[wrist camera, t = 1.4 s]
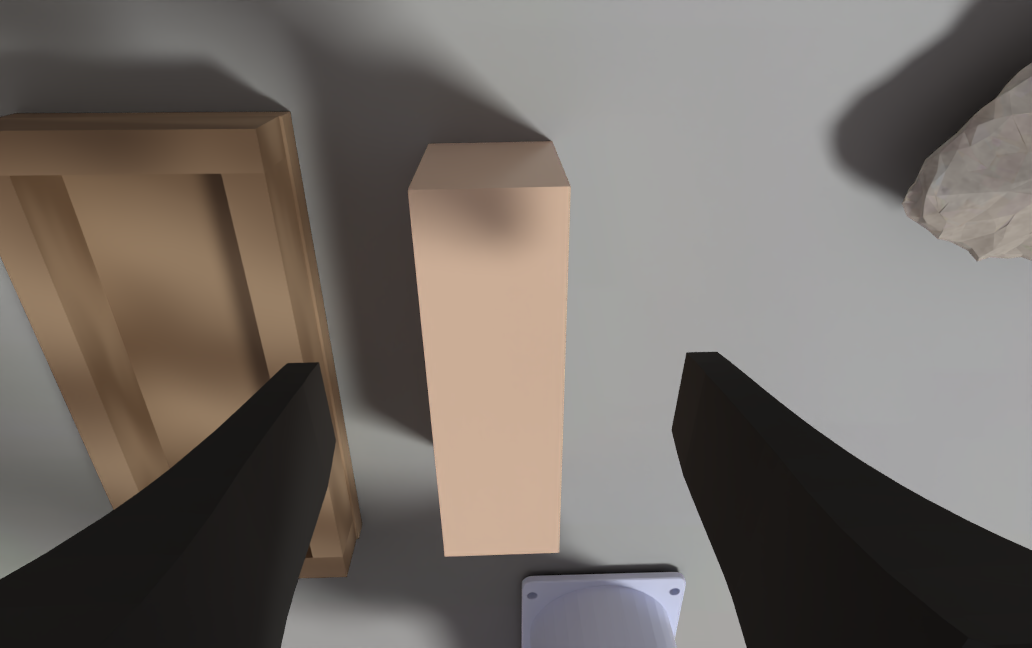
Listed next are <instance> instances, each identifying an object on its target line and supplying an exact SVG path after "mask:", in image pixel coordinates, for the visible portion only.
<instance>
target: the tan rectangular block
mask: <svg viewBox="0 0 1032 648" xmlns="http://www.w3.org/2000/svg"><path fill="white" fill-rule="evenodd" d="M570 189H571V186H570V184H569V181H568V179H567V176H566V174H565V171H564V169H563V167H562V164H561V162H560V159H559V157H558V154H557V152H556V149H555V147H554V144H553V142H552V141H537V142H487V143H438V144H428V146H427V148H426V151H425V153H424V155H423V157H422V159H421V162H420V164H419V166H418V168H417V170H416V173H415V175H414V177H413V179H412V181H411V184H410V186H409V188H408V198H409V208H410V218H411V228H412V238H413V248H414V258H415V267H416V277H417V287H418V297H419V307H420V317H421V327H422V336H423V346H424V356H425V366H426V376H427V386H428V396H429V405H430V415H431V425H432V435H433V445H434V455H435V465H436V474H437V484H438V494H439V504H440V514H441V524H442V534H443V543H444V553H445V557H448V556H477V555H505V554H534V553H559V540H560V508H561V476H562V444H563V412H564V380H565V349H566V317H567V285H568V253H569V221H570Z"/></svg>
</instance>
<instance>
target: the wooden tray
mask: <svg viewBox="0 0 1032 648" xmlns="http://www.w3.org/2000/svg"><path fill="white" fill-rule="evenodd" d="M0 256H1V259H2V261H3V263H4V265H5V268H6V270H7V272H8V274H9V277H10V279H11V281H12V283H13V286H14V288H15V290H16V292H17V295H18V297H19V299H20V301H21V303H22V306H23V308H24V310H25V312H26V315H27V317H28V319H29V321H30V324H31V326H32V328H33V330H34V333H35V335H36V337H37V339H38V342H39V344H40V346H41V348H42V351H43V353H44V355H45V357H46V359H47V362H48V364H49V366H50V368H51V371H52V373H53V375H54V377H55V380H56V382H57V384H58V386H59V389H60V391H61V393H62V395H63V398H64V400H65V402H66V404H67V406H68V409H69V411H70V413H71V415H72V418H73V420H74V422H75V424H76V427H77V429H78V431H79V433H80V436H81V438H82V440H83V442H84V445H85V447H86V449H87V451H88V454H89V456H90V458H91V460H92V462H93V465H94V467H95V469H96V471H97V474H98V476H99V478H100V480H101V483H102V485H103V487H104V489H105V492H106V494H107V496H108V498H109V501H110V503H111V505H112V507H113V509H116V508H117V507H119V506H120V505H122V504H123V503H124V502H126V501H127V500H129V499H130V498H131V497H133V496H134V495H136V494H137V493H138V492H140V491H141V490H143V489H144V488H145V487H147V486H148V485H149V484H151V483H152V482H153V481H155V480H156V479H157V478H159V477H160V476H161V475H162V474H164V473H165V472H166V471H167V470H169V469H170V468H171V467H172V466H174V465H175V464H176V463H177V462H178V461H180V460H181V459H182V458H183V457H184V456H186V455H187V454H188V453H189V452H190V451H191V450H193V449H194V448H195V447H196V446H197V445H199V444H200V443H201V442H202V441H203V440H205V439H206V438H207V437H208V436H209V435H210V434H212V433H213V432H214V431H215V430H216V429H217V428H218V427H219V426H221V425H222V424H223V423H224V422H225V421H226V420H227V419H228V418H229V417H230V416H231V415H232V414H234V413H235V412H236V411H237V410H238V409H239V408H240V407H241V406H242V405H243V404H244V403H245V402H247V401H248V400H249V399H250V398H251V397H252V396H253V395H254V394H255V393H256V392H257V391H258V390H259V389H260V388H261V387H262V386H263V385H264V384H265V383H266V382H267V381H268V380H269V379H271V378H272V377H273V376H274V375H275V374H276V373H277V372H278V371H279V370H280V369H281V368H282V367H283V366H285V365H286V364H287V363H307V362H319V364H320V369H321V373H322V378H323V382H324V387H325V392H326V396H327V401H328V405H329V410H330V415H331V419H332V424H333V428H334V433H335V438H336V444H335V450H334V456H333V462H332V468H331V473H330V478H329V483H328V488H327V491H326V495H325V498H324V501H323V504H322V507H321V511H320V514H319V517H318V520H317V523H316V526H315V529H314V532H313V536H312V539H311V542H310V545H309V548H308V551H307V554H306V557H305V560H304V563H303V566H302V570H301V573H300V576H299V578H325V577H347V574H348V570H349V566H350V562H351V558H352V554H353V550H354V547H355V543H356V539H359V536H360V532H361V528H362V520H361V515H360V509H359V503H358V497H357V492H356V486H355V480H354V475H353V469H352V463H351V457H350V452H349V446H348V440H347V434H346V429H345V423H344V417H343V412H342V406H341V400H340V394H339V389H338V383H337V377H336V371H335V366H334V360H333V354H332V349H331V343H330V337H329V331H328V326H327V320H326V314H325V308H324V303H323V297H322V291H321V286H320V280H319V274H318V268H317V263H316V257H315V251H314V245H313V240H312V234H311V228H310V223H309V217H308V211H307V205H306V200H305V194H304V188H303V182H302V177H301V171H300V165H299V160H298V154H297V148H296V142H295V137H294V131H293V125H292V119H291V114H290V112H156V113H14V114H10V115H6V116H2V117H0Z"/></svg>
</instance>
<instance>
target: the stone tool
mask: <svg viewBox="0 0 1032 648" xmlns="http://www.w3.org/2000/svg"><path fill="white" fill-rule="evenodd" d="M902 204H903V207H904V210H905V212H906V215H907V216H908V217H909V218H911V219H912V220H914V221H915V222H917V223H918V224H920V225H921V226H923V227H924V228H926V229H927V230H929V231H930V232H931V233H932V234H933V235H934V236H935V237H936V238H937V239H941V240H946V241H949V242H952V243H954V244H956V245H958V246H960V247H962V248H964V249H966V250H968V251H969V252H970V254H971V255H972V256H973V257H974V258H975V259H976V261H980V260H983V259H986V258H989V257H993V258H1015V257H1023V258H1026V259H1029V260H1032V63H1030V64H1029V65H1028V66H1026V67H1025V68H1023V69H1022V70H1021V71H1019V72H1018V73H1017V74H1016V75H1015V76H1014V77H1013V78H1012V79H1011V80H1010V81H1009V82H1008V83H1007V84H1006V85H1005V87H1004V88H1003V89H1002V91H1001V92H1000V93H999V95H998V96H997V97H996V99H994V100H993V101H991V102H990V103H988V104H987V105H986V106H984V107H983V108H982V109H980V110H979V111H978V112H977V113H976V114H975V115H974V116H973V117H972V118H971V119H970V120H969V121H968V122H967V123H966V124H965V125H964V126H963V127H962V128H961V129H960V130H959V131H958V132H957V133H956V134H955V135H954V136H952V137H951V138H950V139H949V140H948V141H946V142H945V143H944V144H943V145H942V146H940V147H939V148H938V149H937V150H936V151H935V152H933V153H932V154H931V155H930V156H929V157H928V158H927V159H925V161H924V164H923V166H922V168H921V170H920V172H919V174H918V176H917V178H916V180H915V183H914V184H913V185H912V186H911V187H910V188H909V190H908V192H907V194H906V196H905V199H904V201H903V203H902Z"/></svg>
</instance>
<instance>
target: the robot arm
mask: <svg viewBox="0 0 1032 648" xmlns="http://www.w3.org/2000/svg"><path fill="white" fill-rule="evenodd" d="M672 433H673V438H674V442H675V446H676V450H677V454H678V458H679V461H680V465H681V469H682V472H683V476H684V478H685V481H686V483H687V486H688V488H689V491H690V493H691V496H692V498H693V501H694V503H695V506H696V508H697V511H698V513H699V516H700V518H701V521H702V523H703V525H704V528H705V530H706V533H707V535H708V538H709V540H710V542H711V545H712V547H713V550H714V552H715V555H716V557H717V560H718V562H719V564H720V567H721V569H722V572H723V574H724V577H725V580H726V582H727V585H728V588H729V591H730V593H731V596H732V599H733V602H734V606H735V609H736V613H737V616H738V619H739V623H740V626H741V629H742V633H743V636H744V640H745V643H746V646H747V648H1032V550H1030V549H1028V548H1025V547H1023V546H1021V545H1019V544H1016V543H1014V542H1012V541H1010V540H1007V539H1005V538H1003V537H1001V536H999V535H997V534H994V533H992V532H990V531H988V530H986V529H984V528H982V527H980V526H978V525H976V524H974V523H972V522H970V521H967V520H965V519H964V518H962V517H960V516H958V515H956V514H954V513H952V512H950V511H948V510H946V509H944V508H942V507H941V506H939V505H937V504H935V503H933V502H931V501H929V500H927V499H925V498H923V497H922V496H920V495H918V494H916V493H914V492H913V491H911V490H909V489H907V488H906V487H904V486H902V485H900V484H899V483H897V482H895V481H894V480H892V479H890V478H889V477H887V476H885V475H884V474H882V473H881V472H879V471H877V470H876V469H874V468H872V467H871V466H869V465H867V464H866V463H864V462H863V461H861V460H860V459H858V458H856V457H855V456H853V455H852V454H850V453H849V452H847V451H846V450H844V449H843V448H842V447H840V446H839V445H837V444H836V443H834V442H833V441H832V440H830V439H829V438H827V437H826V436H824V435H823V434H822V433H820V432H819V431H817V430H816V429H815V428H813V427H812V426H810V425H809V424H808V423H806V422H805V421H804V420H802V419H801V418H800V417H798V416H797V415H796V414H795V413H793V412H792V411H791V410H789V409H788V408H787V407H786V406H784V405H783V404H782V403H780V402H779V401H778V400H777V399H775V398H774V397H773V396H772V395H770V394H769V393H768V392H767V391H765V390H764V389H763V388H762V387H760V386H759V385H758V384H757V383H756V382H754V381H753V380H752V379H751V378H749V377H748V376H747V375H746V374H745V373H743V372H742V371H741V370H740V369H738V368H737V367H736V366H735V365H733V364H732V363H731V362H730V361H728V360H727V359H726V358H725V357H723V356H722V355H721V354H719V353H718V352H691V353H686V358H685V363H684V368H683V374H682V379H681V384H680V389H679V394H678V400H677V405H676V410H675V415H674V420H673V425H672ZM335 444H336V438H335V433H334V428H333V424H332V419H331V415H330V410H329V405H328V401H327V396H326V392H325V387H324V382H323V378H322V373H321V369H320V364H319V362H307V363H287V364H286V365H285V366H283V367H282V368H281V369H280V370H279V371H278V372H277V373H276V374H275V375H274V376H273V377H272V378H271V379H269V380H268V381H267V382H266V383H265V384H264V385H263V386H262V387H261V388H260V389H259V390H258V391H257V392H256V393H255V394H254V395H253V396H252V397H251V398H250V399H249V400H248V401H247V402H245V403H244V404H243V405H242V406H241V407H240V408H239V409H238V410H237V411H236V412H235V413H234V414H232V415H231V416H230V417H229V418H228V419H227V420H226V421H225V422H224V423H223V424H222V425H221V426H219V427H218V428H217V429H216V430H215V431H214V432H213V433H212V434H210V435H209V436H208V437H207V438H206V439H205V440H203V441H202V442H201V443H200V444H199V445H197V446H196V447H195V448H194V449H193V450H191V451H190V452H189V453H188V454H187V455H186V456H184V457H183V458H182V459H181V460H180V461H178V462H177V463H176V464H175V465H174V466H172V467H171V468H170V469H169V470H167V471H166V472H165V473H164V474H162V475H161V476H160V477H159V478H157V479H156V480H155V481H153V482H152V483H151V484H149V485H148V486H147V487H145V488H144V489H143V490H141V491H140V492H138V493H137V494H136V495H134V496H133V497H131V498H130V499H129V500H127V501H126V502H124V503H123V504H122V505H120V506H119V507H117V508H116V509H114V510H113V511H111V512H110V513H109V514H107V515H106V516H104V517H103V518H101V519H99V520H98V521H96V522H95V523H93V524H91V525H90V526H88V527H87V528H85V529H84V530H82V531H80V532H79V533H77V534H76V535H74V536H72V537H71V538H69V539H68V540H66V541H65V542H63V543H61V544H60V545H58V546H57V547H55V548H53V549H52V550H50V551H49V552H47V553H45V554H44V555H42V556H40V557H39V558H37V559H35V560H34V561H32V562H30V563H28V564H27V565H25V566H23V567H21V568H19V569H18V570H16V571H14V572H12V573H11V574H9V575H7V576H5V577H4V578H2V579H0V648H281V643H282V639H283V634H284V629H285V625H286V620H287V616H288V612H289V609H290V605H291V602H292V598H293V594H294V591H295V588H296V585H297V582H298V579H299V576H300V573H301V570H302V566H303V563H304V560H305V557H306V554H307V551H308V548H309V545H310V542H311V539H312V536H313V532H314V529H315V526H316V523H317V520H318V517H319V514H320V511H321V507H322V504H323V501H324V498H325V495H326V491H327V488H328V483H329V478H330V473H331V468H332V462H333V456H334V450H335ZM685 585H686V581H685V578H684V575H683V574H682V573H679V572H650V573H615V574H580V575H545V576H528V577H526V578H525V579H524V580H523V581H522V648H677V646H676V642H675V635H676V630H677V625H678V620H679V615H680V610H681V605H682V600H683V595H684V590H685Z"/></svg>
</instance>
